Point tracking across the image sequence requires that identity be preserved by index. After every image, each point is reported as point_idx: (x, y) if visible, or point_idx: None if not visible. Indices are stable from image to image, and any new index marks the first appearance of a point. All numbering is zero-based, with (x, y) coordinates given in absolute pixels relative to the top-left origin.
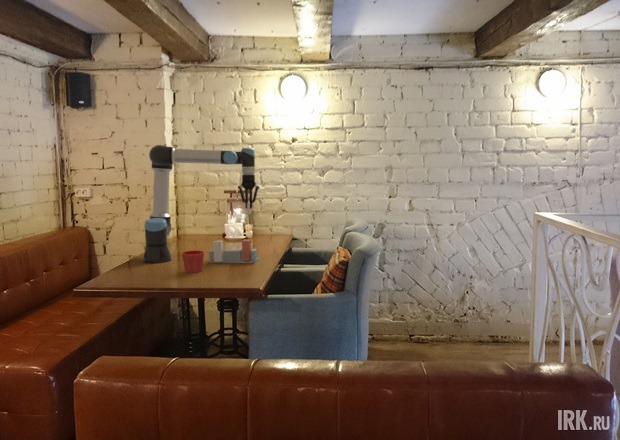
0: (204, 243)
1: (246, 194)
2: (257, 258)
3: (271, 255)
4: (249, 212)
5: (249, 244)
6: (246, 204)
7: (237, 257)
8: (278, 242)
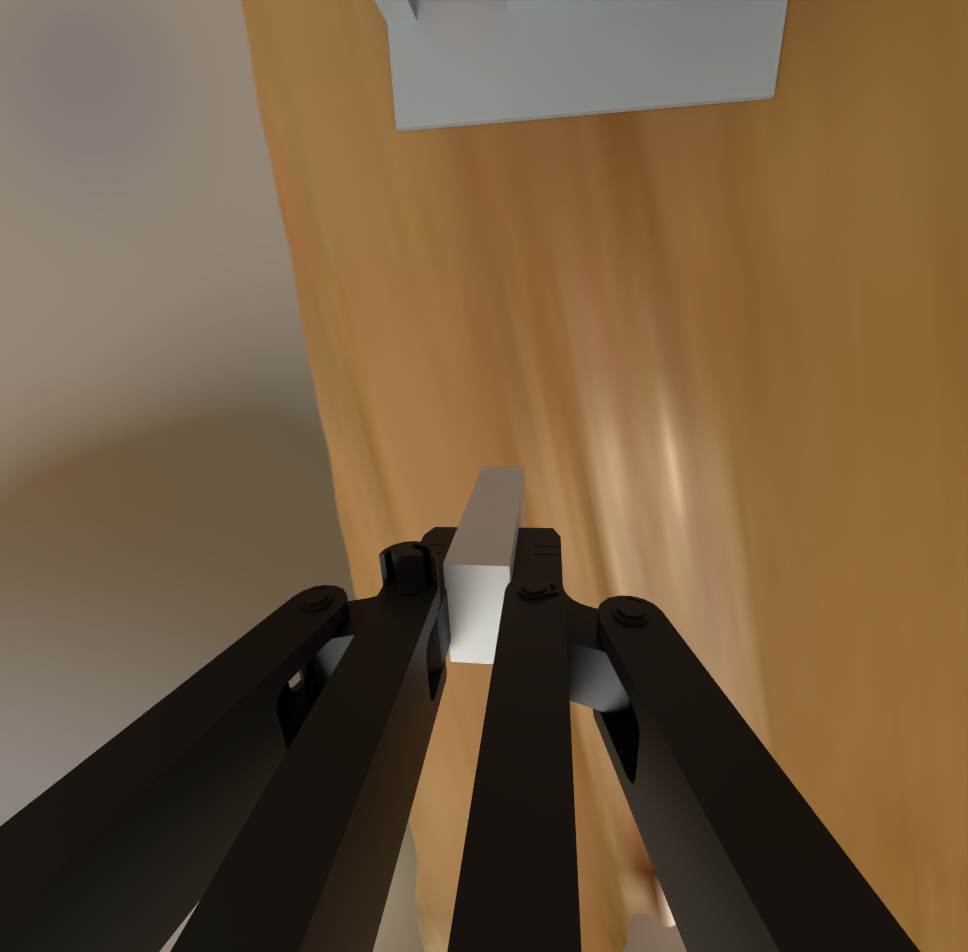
0: (922, 752)
1: (505, 823)
2: (399, 86)
3: (347, 288)
4: (483, 479)
5: None
6: (536, 572)
7: None
8: (430, 739)
